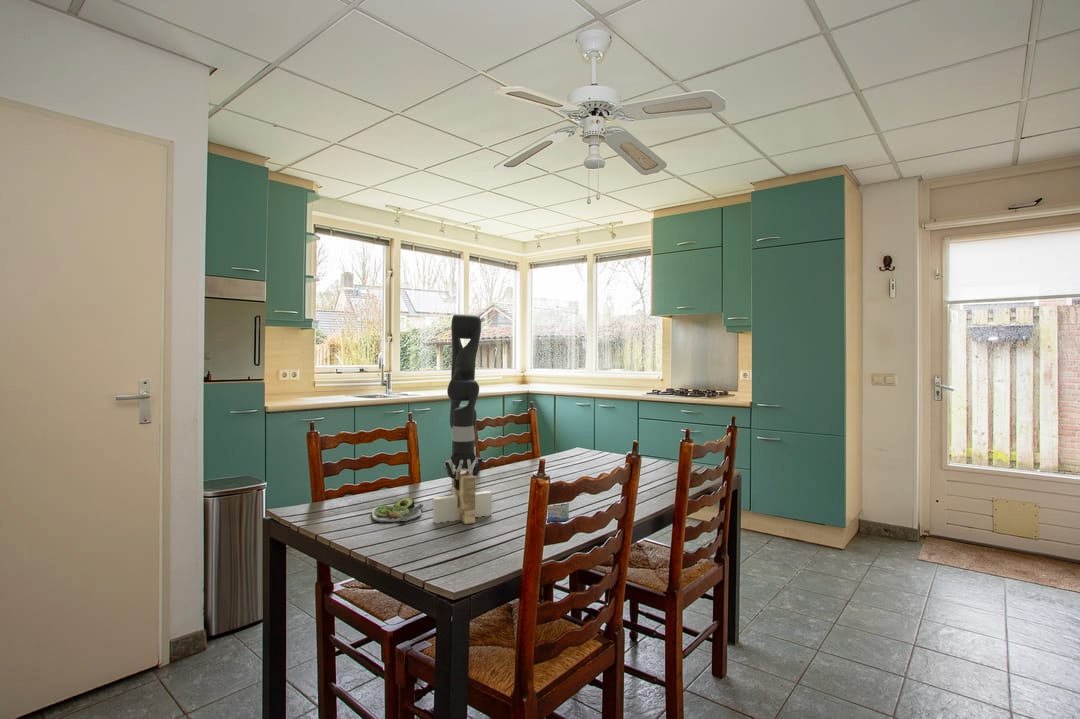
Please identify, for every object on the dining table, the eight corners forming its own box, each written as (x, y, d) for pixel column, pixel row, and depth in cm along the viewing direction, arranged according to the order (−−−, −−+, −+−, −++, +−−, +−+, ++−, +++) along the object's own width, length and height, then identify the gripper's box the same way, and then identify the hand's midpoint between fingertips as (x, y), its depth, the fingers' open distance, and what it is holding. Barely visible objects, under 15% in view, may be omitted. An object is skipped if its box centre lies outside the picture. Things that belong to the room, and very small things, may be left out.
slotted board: (433, 521, 181) (433, 497, 181) (489, 513, 190) (489, 490, 190) (435, 523, 179) (435, 499, 179) (491, 515, 188) (491, 492, 188)
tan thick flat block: (451, 512, 190) (451, 469, 190) (461, 510, 192) (461, 468, 191) (465, 524, 178) (465, 478, 177) (475, 522, 179) (475, 477, 179)
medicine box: (545, 522, 181) (546, 496, 181) (543, 518, 186) (543, 493, 185) (569, 521, 182) (569, 495, 182) (566, 517, 187) (566, 492, 187)
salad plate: (427, 523, 180) (427, 509, 180) (370, 528, 175) (370, 514, 175) (422, 507, 199) (422, 494, 198) (371, 511, 194) (371, 498, 193)
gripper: (478, 435, 191) (478, 484, 191) (439, 438, 184) (439, 488, 185) (486, 439, 184) (486, 489, 184) (446, 442, 178) (446, 494, 178)
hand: (463, 488), depth 185 cm, fingers closed on tan thick flat block, 3 cm apart
